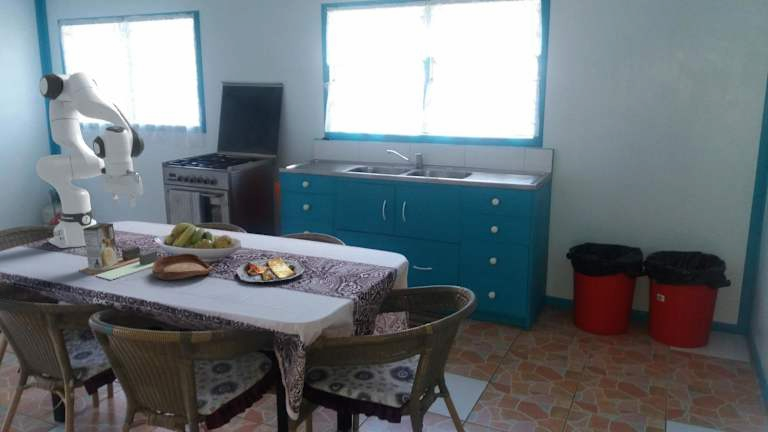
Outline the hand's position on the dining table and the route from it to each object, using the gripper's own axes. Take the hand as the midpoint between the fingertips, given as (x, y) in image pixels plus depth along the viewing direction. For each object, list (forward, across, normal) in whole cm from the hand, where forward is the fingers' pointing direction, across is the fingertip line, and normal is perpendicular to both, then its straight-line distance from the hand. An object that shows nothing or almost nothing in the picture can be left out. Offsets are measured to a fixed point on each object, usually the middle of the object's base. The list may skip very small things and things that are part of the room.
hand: (124, 204), depth 236 cm
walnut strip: (+22, 0, +8) cm, 24 cm away
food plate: (+23, -60, -14) cm, 66 cm away
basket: (+23, -32, +2) cm, 39 cm away
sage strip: (+22, -11, +8) cm, 26 cm away
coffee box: (+22, 0, +12) cm, 25 cm away
